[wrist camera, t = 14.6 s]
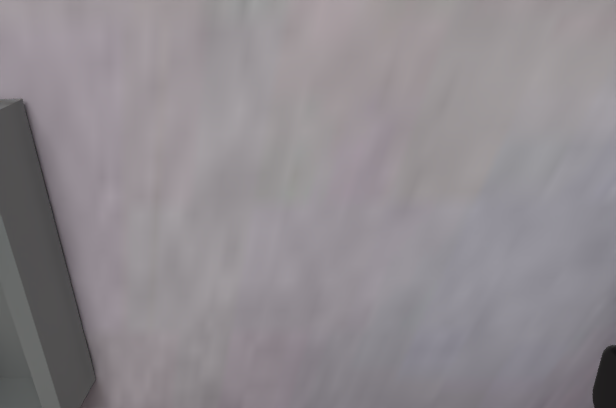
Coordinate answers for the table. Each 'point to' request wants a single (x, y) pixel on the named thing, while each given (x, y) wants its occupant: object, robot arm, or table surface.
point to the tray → (34, 284)
